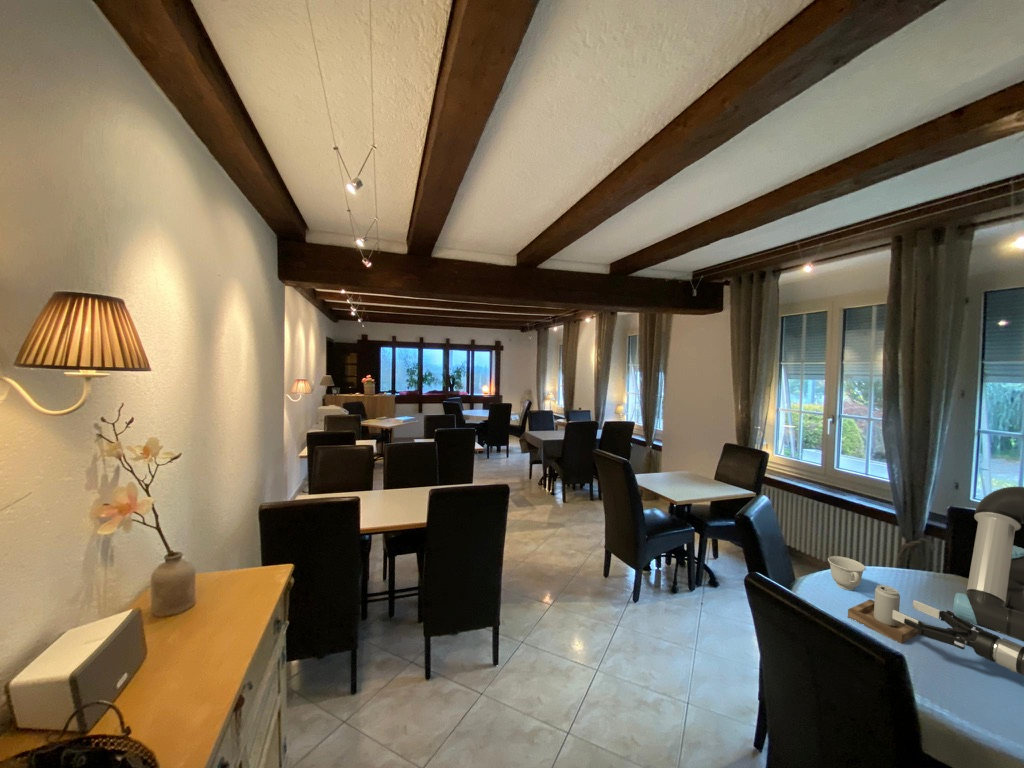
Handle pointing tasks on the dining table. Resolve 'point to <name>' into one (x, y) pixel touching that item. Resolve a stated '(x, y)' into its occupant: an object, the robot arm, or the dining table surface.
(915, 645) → the dining table surface
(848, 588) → the teacup
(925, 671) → the dining table surface
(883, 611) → the beverage can
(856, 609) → the tray
